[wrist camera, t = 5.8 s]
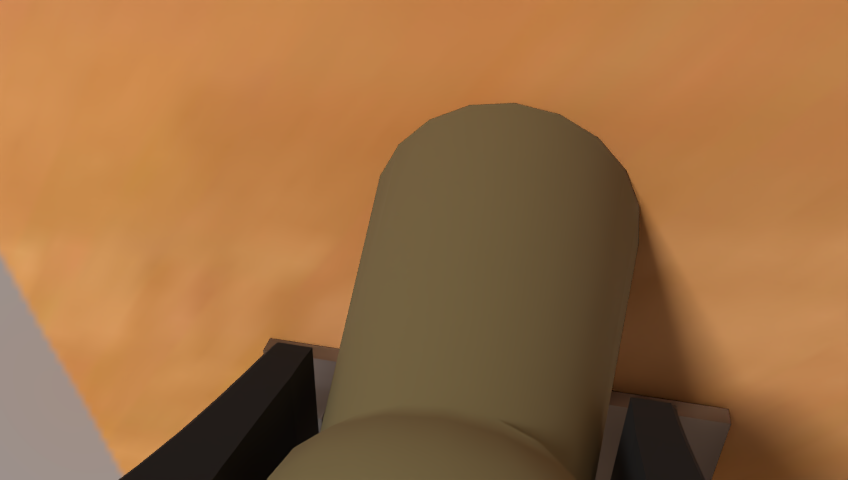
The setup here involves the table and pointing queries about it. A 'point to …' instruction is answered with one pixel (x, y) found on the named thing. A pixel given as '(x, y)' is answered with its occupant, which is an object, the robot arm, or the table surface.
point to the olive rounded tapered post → (482, 307)
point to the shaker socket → (698, 421)
